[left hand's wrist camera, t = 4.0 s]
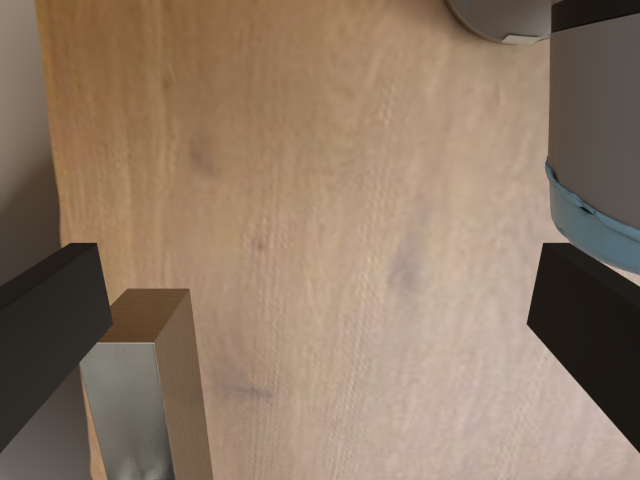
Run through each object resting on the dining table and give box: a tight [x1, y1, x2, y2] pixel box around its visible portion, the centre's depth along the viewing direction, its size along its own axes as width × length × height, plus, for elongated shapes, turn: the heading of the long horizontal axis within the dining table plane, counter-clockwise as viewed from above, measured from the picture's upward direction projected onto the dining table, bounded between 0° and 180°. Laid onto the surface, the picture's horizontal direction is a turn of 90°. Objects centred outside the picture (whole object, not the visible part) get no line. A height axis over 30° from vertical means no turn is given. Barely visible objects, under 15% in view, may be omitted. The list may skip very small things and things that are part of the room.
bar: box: [79, 289, 213, 480], centre depth 35 cm, size 23×5×8 cm, turn 0°
